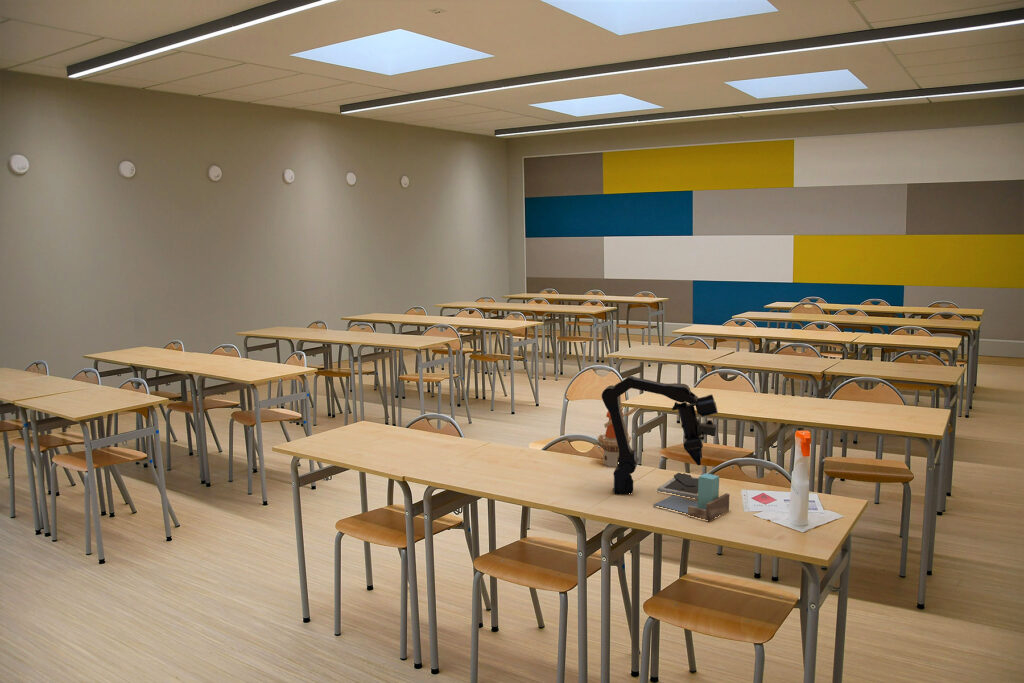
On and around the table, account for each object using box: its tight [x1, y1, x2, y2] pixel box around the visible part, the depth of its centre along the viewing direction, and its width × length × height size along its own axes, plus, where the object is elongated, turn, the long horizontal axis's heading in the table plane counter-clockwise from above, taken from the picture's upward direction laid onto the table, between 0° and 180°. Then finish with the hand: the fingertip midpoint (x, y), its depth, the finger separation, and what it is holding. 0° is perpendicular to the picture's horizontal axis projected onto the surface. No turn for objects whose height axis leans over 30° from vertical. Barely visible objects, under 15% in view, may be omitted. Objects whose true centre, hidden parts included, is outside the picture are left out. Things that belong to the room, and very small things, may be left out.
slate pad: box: [653, 495, 698, 514], centre depth 269 cm, size 13×13×1 cm
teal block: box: [697, 472, 720, 510], centre depth 261 cm, size 5×5×13 cm
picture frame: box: [657, 472, 699, 500], centre depth 289 cm, size 16×3×21 cm
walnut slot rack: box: [688, 492, 730, 522], centre depth 261 cm, size 8×14×6 cm, turn 139°
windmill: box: [597, 404, 640, 468], centre depth 317 cm, size 17×14×30 cm
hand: (700, 461), depth 275 cm, fingers open, 9 cm apart
